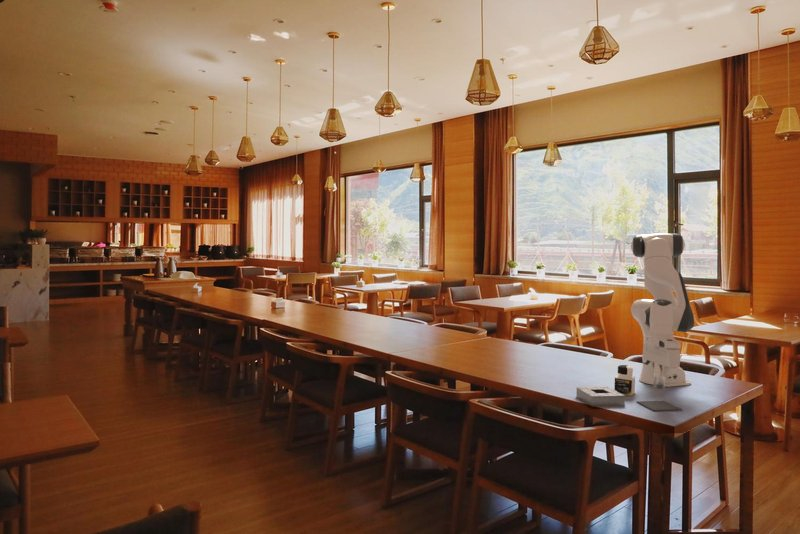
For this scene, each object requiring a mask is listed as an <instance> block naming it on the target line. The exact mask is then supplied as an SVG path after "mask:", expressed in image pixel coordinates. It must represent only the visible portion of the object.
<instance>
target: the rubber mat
mask: <svg viewBox="0 0 800 534" xmlns="http://www.w3.org/2000/svg"><path fill="white" fill-rule="evenodd" d="M636 403H637V404H638V405H641V406H642V407H644V408H646V409H648V410H650V411H651V412H678V411H677V410H682V411H683V408H680V407H679V406H677V405H674V404H672V403H671V402H668V401H666V400H639V401H638V400H637V401H636ZM670 410H671V411H670ZM674 410H675V411H674Z"/></svg>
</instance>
